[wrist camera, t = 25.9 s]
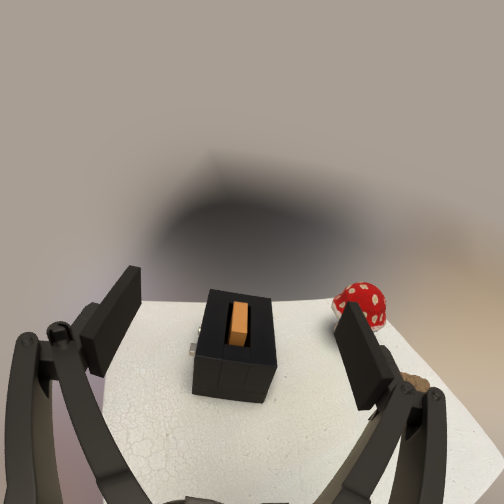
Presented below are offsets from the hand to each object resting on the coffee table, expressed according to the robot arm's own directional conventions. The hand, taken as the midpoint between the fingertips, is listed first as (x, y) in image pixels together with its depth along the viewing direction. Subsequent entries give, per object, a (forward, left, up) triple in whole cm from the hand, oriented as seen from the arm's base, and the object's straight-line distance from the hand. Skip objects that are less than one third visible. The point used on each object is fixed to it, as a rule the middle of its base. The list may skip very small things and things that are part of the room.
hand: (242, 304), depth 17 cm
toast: (+2, +23, -27) cm, 35 cm away
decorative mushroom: (+29, +34, -30) cm, 54 cm away
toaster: (+2, +23, -30) cm, 38 cm away
